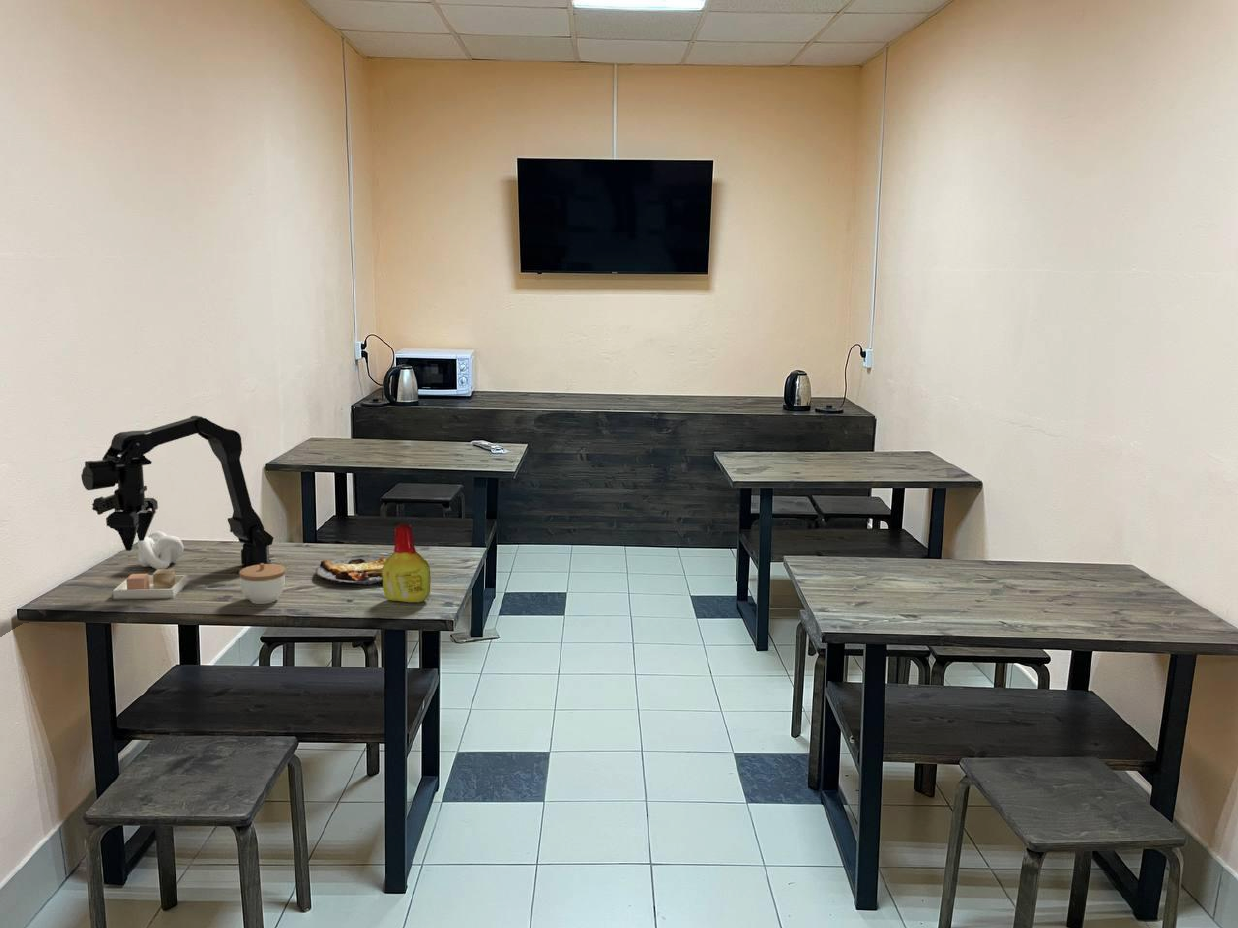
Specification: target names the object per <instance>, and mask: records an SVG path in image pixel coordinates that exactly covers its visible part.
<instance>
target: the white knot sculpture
mask: <svg viewBox="0 0 1238 928" xmlns="http://www.w3.org/2000/svg"><path fill="white" fill-rule="evenodd" d="M137 549H138V556H137V561H138V562H137V563H138V564H139V565H140V567H144V568H149V567H152V568H153V569H156V570H157V569H168V568H169V567H170V564H172V563H174V562H177V561H178V560H179V559H180V558H181V557H182V555H183V553H184V544H183V542H182V540H181V539H180V538H179V537H177V536H174V535H167V533H166V532H163V531H161V530H160V531H158V530H157V531H154V532H152V533H150V534H149V535H148V536H145V539H144V540H143V541H139V540H138V541H137Z"/></svg>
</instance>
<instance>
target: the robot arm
mask: <svg viewBox="0 0 1238 928" xmlns="http://www.w3.org/2000/svg"><path fill="white" fill-rule="evenodd" d="M196 434H198V436H200V437H201V438H203V439H204V440H206V441H207V442H208V443H207V444H209V447H210V448H211V449H210V450H211V451H212V453H213V454H214V455H215V457H216V458H217V459H218V461H219V463H220V465H221V469H222V473H223V475H224V480H225V483H226V487H227V491H228V495H229V498H230V501H231V505H232V509H233V511H232V512H233V513H232V516H231V517H229V518H227V522H228V524H229V528H230V529H229V532H231V533H232V535H234V537H236V538H237V540H238V541H239V543H242V548H241V550H240V557H241V559H240V560H241V561H240V562H241V565H242V566H241V568H242V569H243V568H246V567H249V566H253V565H259V564H261V563H264V564H271V562H272V559H270V547H269V546H271V545H272V544H273V542H274V536H272V534H270V533H269V532H268V531H266V530H265V526H264V524H263V522H262V519H261V517H260V516H259V514H258V513H257V512H256V511H255V509H254V508H253V506H252V505H253V504H252V502H251V499H250V498H251V497H250V494H249V491H248V490H249V489H248V487H247V482H246V479H245V475H244V471H243V467H242V464H241V459H240V458H241V455H242V451H243V445H242V437H241V434H240V433H239V432H238V431H236V430H234V429H229V428H225V427H223V426H221V425H219V424H217V423H214V422H212V421H211V420H209V419H208V418H207V417H204V416H199V415H191V416H190V417H188V418H184V419H181V420H178V421H175V422H172V423H167V424H165V425H160V426H157V427H154V428H151V429H146V430H129V431H121V432H117V433H116V434H115V435H113V438H112V440H111V444H110V446H109V447H108V449H107V451H106V452H105V454H104V455H103V457H102V460H88V461H85V462H84V465H85V466H84V467H83V469H82V473H81V474H80V475H81V476H80V477H81V481H82V484H83V487H84V488H85V490H86V491H93V490H100V489H106V488H113V487H115V486H116V484H117V488H116V489H115V490H114V491H113V493H114V494H112V495H108V496H106V497H103V496H100V497H97V498H94V499H93V502H92V504H91V505H92V507H91V509H92V511H95V512H96V513H97V515H98V516H99V515H102V514H104V513H106V512H109V511H112V510H114V511H113V512H112V513H110V514H109V515H108V516H107V517H106V519H105V523H106V526H107V527H109V528H110V529H113V530H114V531H116V532H117V533H118V535H119V537H120V539H121V542H122V544H123V546H124V549H125V551H127V552H131V551H132V549H133V547H134V544H135V543H134V542H135V539H136V536H137V538H138V541H143V540H144V539H145V537H147V533H148V531H149V528H150V526H151V523H152V521H153V519H154V516H155V514H156V513H157V509H158V508H159V506H158V500H157V499H156V498H154V497H145V496H146V495H145V492H146V491H147V490H148V486H147V485H145V478H144V466H146V465H151V464H152V463H153V461H151V460H150V459H148V458H147V457H146V454H148V453H150V452H151V451H152V450H154V449H155V448H156V447H158V446H161V445H164V444H167V443H171V442H172V441H176V440H180V439H183V438H186V437H189V436H192V435H196Z"/></svg>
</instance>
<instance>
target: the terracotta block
mask: <svg viewBox="0 0 1238 928" xmlns="http://www.w3.org/2000/svg"><path fill="white" fill-rule="evenodd" d="M149 576H150V575H149V573H132V574H130V575H129V576H128V577H127V578H126V579H125V580H127V590H131V589H150V587H149Z"/></svg>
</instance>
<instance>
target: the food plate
mask: <svg viewBox="0 0 1238 928" xmlns="http://www.w3.org/2000/svg"><path fill="white" fill-rule="evenodd" d="M390 556H391V555H390ZM390 556H387V555H371V554H363V555H354V556H347V557H342V558H341V557H340V558H335V559H332V560H328V559H324V560H321V561H320V564H319V566H317V567H316V569H315V575H316V576H317V577H320V578H323V579H326V580H328V581H332V582H337V583H343V582H344V583H345V584H351V583H352V584H357V585H368V586H369V585H373V584H376V583H381V582H383V578H378V579H376V580H373V578H374V579H375V577H378V576H381V577H382V569H383V565H384V563H385V562H386V560H387V559H388V558H389V557H390ZM379 579H380V580H379Z"/></svg>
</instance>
